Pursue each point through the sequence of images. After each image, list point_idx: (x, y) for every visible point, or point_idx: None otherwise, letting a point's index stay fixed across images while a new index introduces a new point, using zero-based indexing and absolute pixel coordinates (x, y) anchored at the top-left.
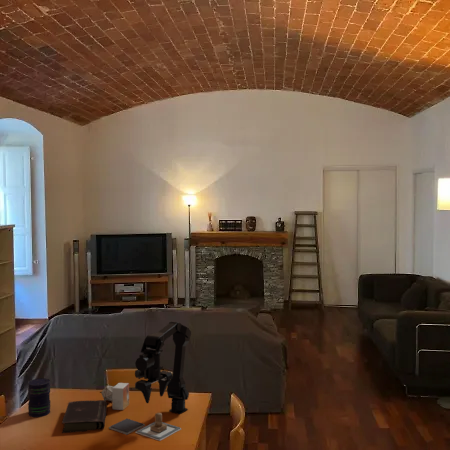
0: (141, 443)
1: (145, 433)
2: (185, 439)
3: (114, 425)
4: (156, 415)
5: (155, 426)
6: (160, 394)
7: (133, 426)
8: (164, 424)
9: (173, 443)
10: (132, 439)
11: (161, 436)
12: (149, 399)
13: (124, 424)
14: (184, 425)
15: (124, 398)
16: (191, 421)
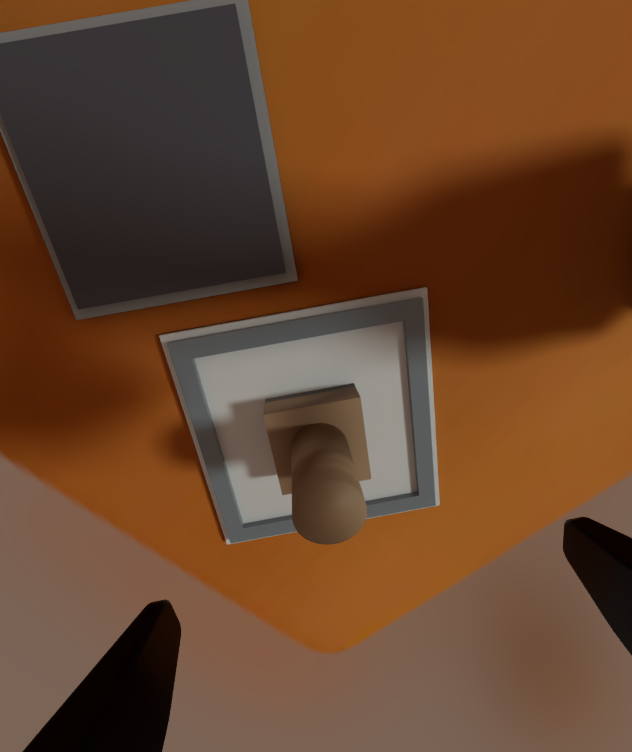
0: (112, 497)
1: (198, 427)
2: (350, 603)
3: (24, 71)
4: (293, 523)
5: (290, 444)
6: (592, 556)
7: (181, 258)
8: (364, 462)
9: (269, 600)
10: (85, 413)
11: (258, 526)
12: (161, 744)
13: (131, 142)
14: (493, 475)
15: None
16: (570, 459)
